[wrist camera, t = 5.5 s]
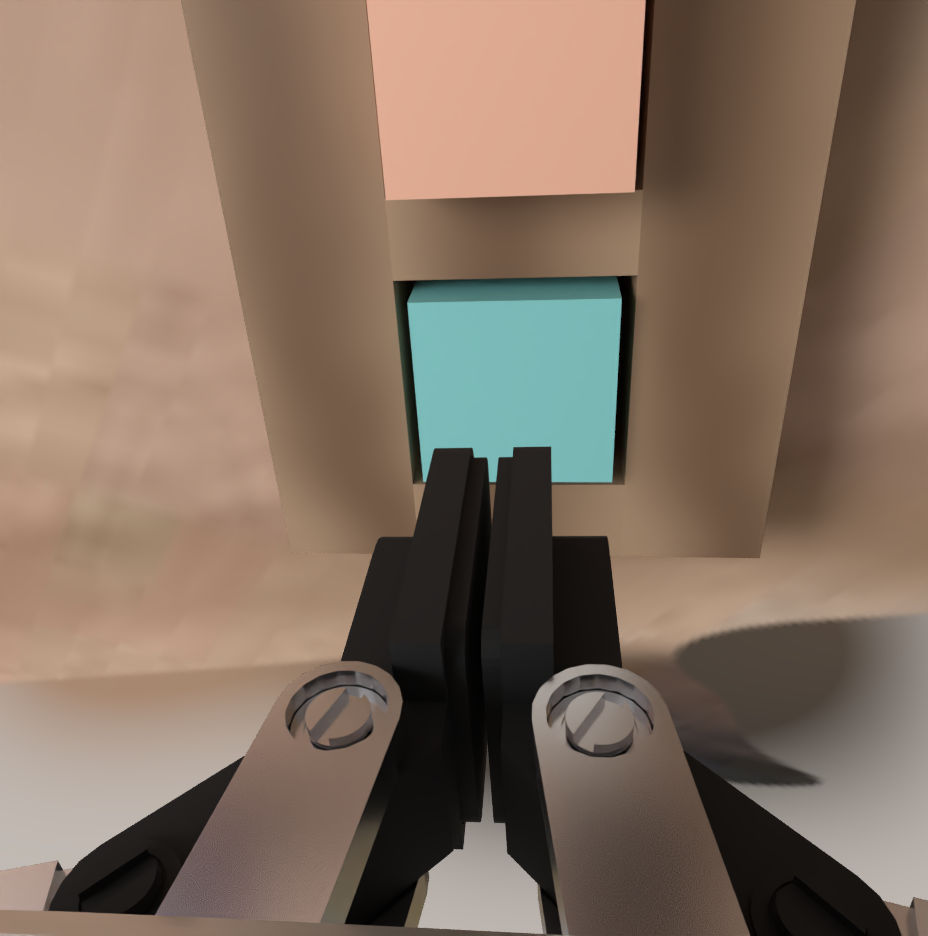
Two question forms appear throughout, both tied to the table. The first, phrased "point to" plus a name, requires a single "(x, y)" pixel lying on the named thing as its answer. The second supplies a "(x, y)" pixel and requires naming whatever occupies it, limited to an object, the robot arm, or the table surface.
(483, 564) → the robot arm
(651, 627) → the table surface
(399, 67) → the terracotta button
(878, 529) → the table surface
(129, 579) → the table surface
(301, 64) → the console
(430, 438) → the teal button
